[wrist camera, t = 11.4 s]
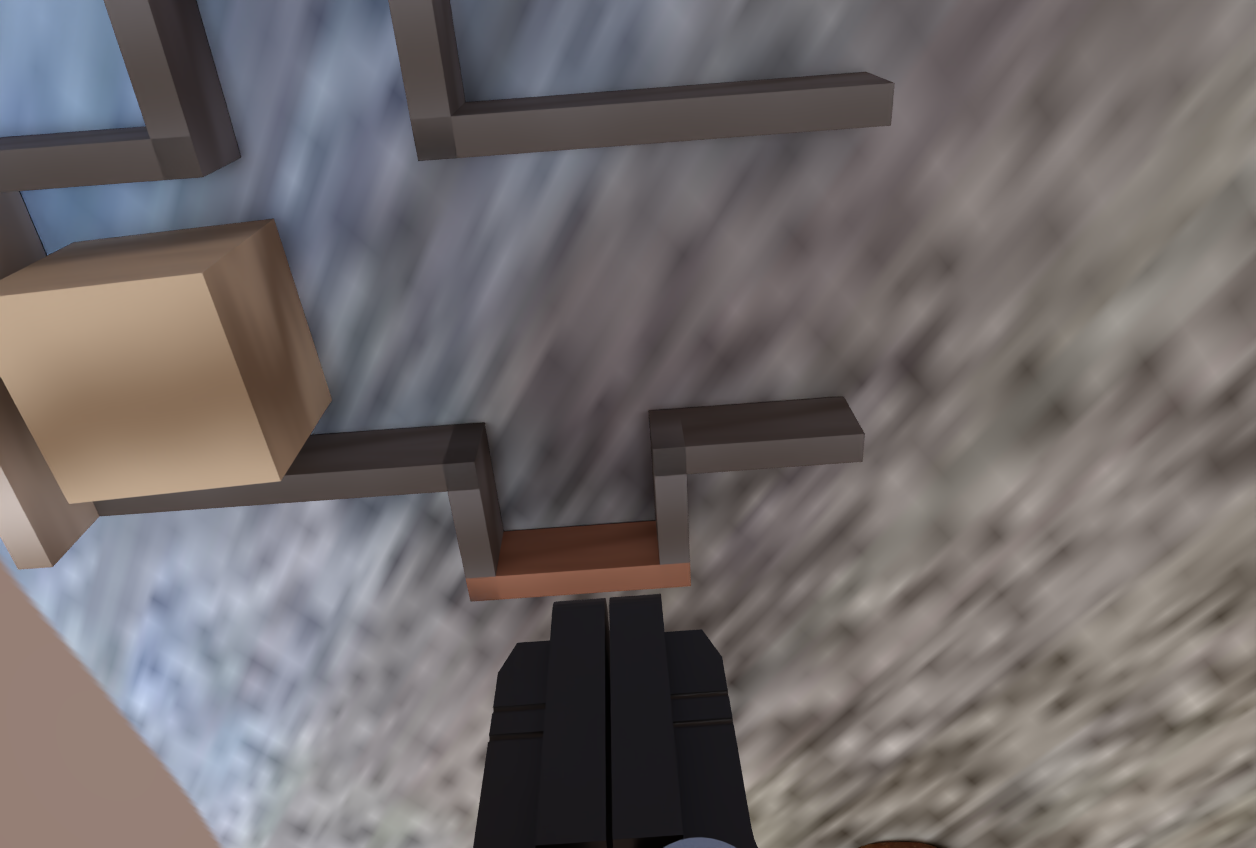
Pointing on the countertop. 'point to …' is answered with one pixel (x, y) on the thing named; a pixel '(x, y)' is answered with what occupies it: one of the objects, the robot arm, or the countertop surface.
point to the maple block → (162, 361)
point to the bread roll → (898, 845)
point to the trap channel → (439, 455)
